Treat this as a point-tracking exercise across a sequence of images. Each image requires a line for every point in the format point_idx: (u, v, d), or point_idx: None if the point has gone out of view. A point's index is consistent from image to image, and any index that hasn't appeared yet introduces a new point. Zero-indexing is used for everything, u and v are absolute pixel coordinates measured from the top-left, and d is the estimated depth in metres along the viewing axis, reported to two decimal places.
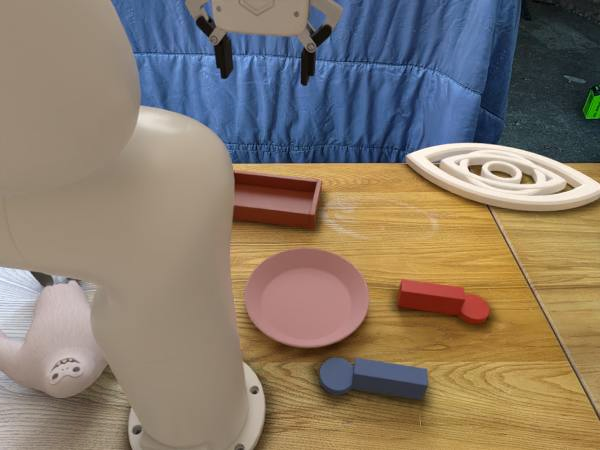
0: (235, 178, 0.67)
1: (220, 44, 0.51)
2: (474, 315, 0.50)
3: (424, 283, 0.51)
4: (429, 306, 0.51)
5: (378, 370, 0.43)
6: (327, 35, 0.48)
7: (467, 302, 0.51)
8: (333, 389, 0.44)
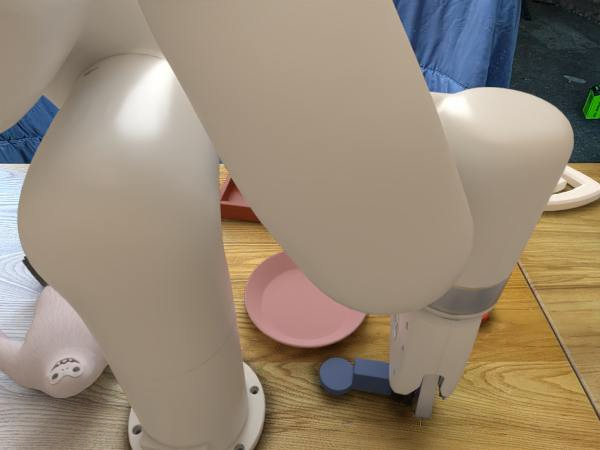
0: None
1: None
2: None
3: None
4: None
5: (378, 370, 0.43)
6: (408, 393, 0.38)
7: None
8: (333, 389, 0.44)
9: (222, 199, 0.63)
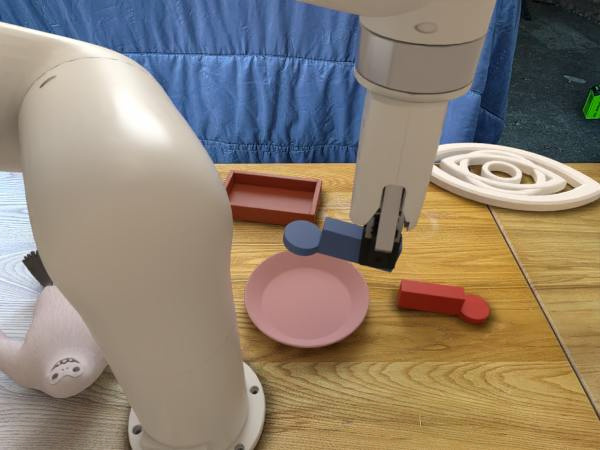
0: (235, 178, 0.67)
1: None
2: (474, 315, 0.50)
3: (424, 283, 0.51)
4: (429, 306, 0.51)
5: (350, 230, 0.39)
6: (371, 234, 0.34)
7: (467, 302, 0.51)
8: (297, 247, 0.39)
9: None
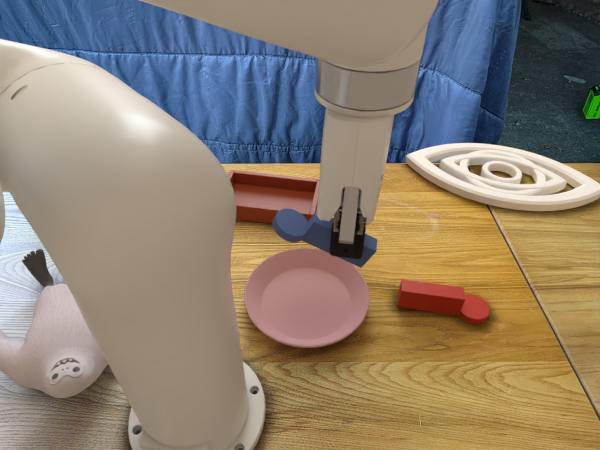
0: (235, 178, 0.67)
1: None
2: (474, 315, 0.50)
3: (424, 283, 0.51)
4: (429, 306, 0.51)
5: None
6: (337, 228, 0.39)
7: (467, 302, 0.51)
8: (287, 233, 0.43)
9: None
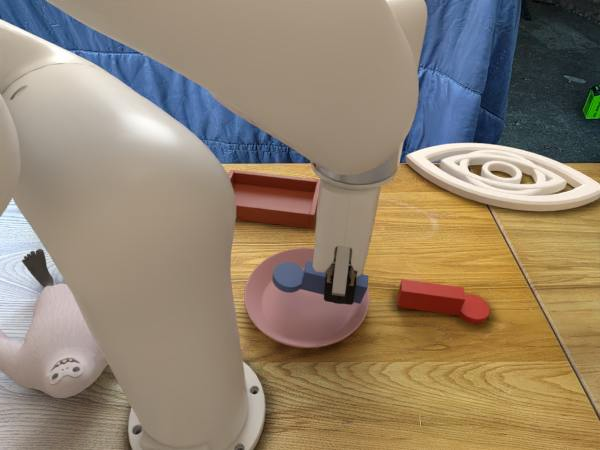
0: (235, 178, 0.67)
1: None
2: (474, 315, 0.50)
3: (424, 283, 0.51)
4: (429, 306, 0.51)
5: (326, 272, 0.48)
6: (330, 282, 0.43)
7: (467, 302, 0.51)
8: (284, 286, 0.49)
9: None
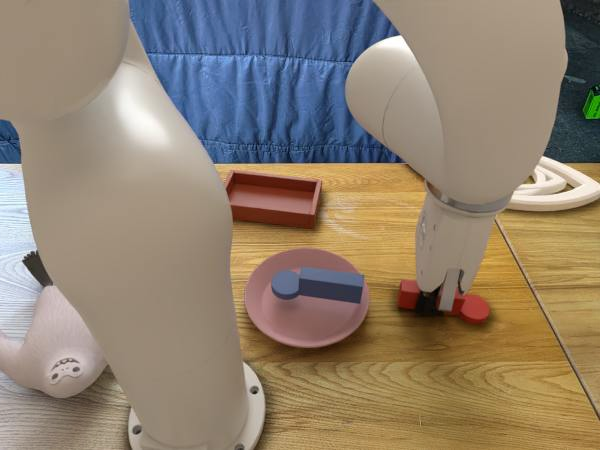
0: (235, 178, 0.67)
1: None
2: (474, 315, 0.50)
3: None
4: None
5: (321, 275, 0.49)
6: (432, 296, 0.46)
7: (467, 302, 0.51)
8: (282, 293, 0.50)
9: None
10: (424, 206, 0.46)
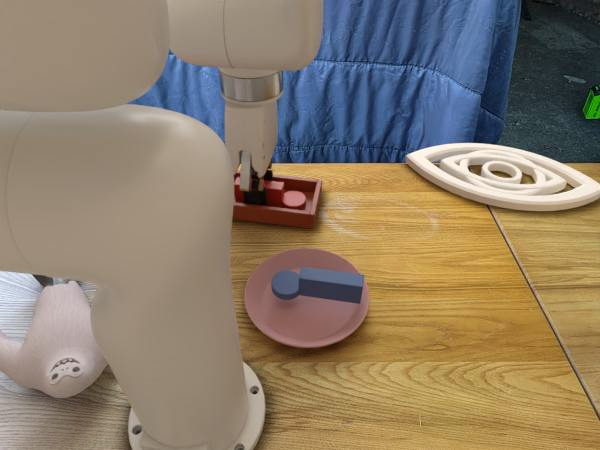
0: (235, 178, 0.67)
1: None
2: (291, 204, 0.63)
3: (253, 179, 0.64)
4: None
5: (321, 275, 0.49)
6: None
7: (289, 196, 0.64)
8: (282, 293, 0.50)
9: None
10: None
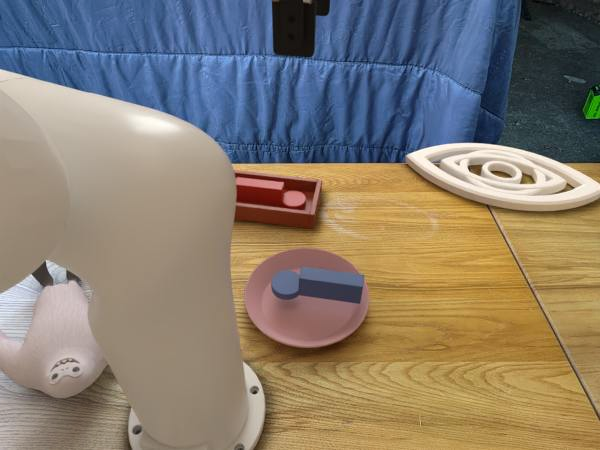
0: None
1: None
2: (291, 204, 0.63)
3: (253, 179, 0.64)
4: (258, 198, 0.64)
5: (321, 275, 0.49)
6: None
7: (289, 196, 0.64)
8: (282, 294, 0.50)
9: None
10: None
